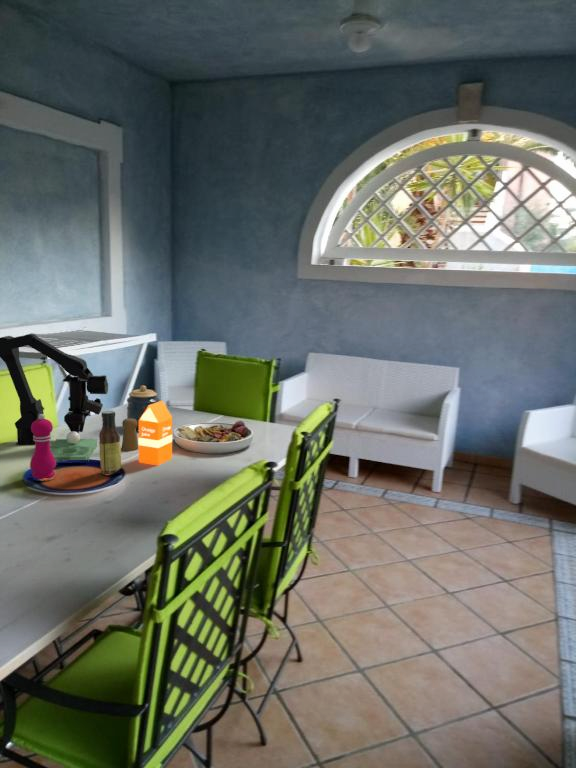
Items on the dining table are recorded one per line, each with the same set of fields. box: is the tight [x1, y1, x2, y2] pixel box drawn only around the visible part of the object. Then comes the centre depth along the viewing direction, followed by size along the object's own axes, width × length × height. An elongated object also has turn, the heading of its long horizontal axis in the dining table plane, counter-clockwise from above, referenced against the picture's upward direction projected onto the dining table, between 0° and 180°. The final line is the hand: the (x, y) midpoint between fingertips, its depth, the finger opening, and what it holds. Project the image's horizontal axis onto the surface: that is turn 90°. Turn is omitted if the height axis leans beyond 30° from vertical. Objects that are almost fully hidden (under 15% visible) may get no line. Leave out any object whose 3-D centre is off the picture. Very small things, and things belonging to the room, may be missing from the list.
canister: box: [126, 385, 160, 430], centre depth 234 cm, size 13×13×18 cm
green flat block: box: [50, 438, 98, 461], centre depth 196 cm, size 21×14×2 cm, turn 9°
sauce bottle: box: [98, 410, 122, 475], centre depth 178 cm, size 6×6×20 cm
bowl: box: [172, 420, 254, 455], centre depth 216 cm, size 30×30×8 cm
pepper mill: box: [29, 414, 57, 479], centre depth 171 cm, size 7×7×20 cm
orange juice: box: [138, 400, 173, 466], centre depth 193 cm, size 8×9×20 cm
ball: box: [65, 431, 81, 444], centre depth 200 cm, size 4×4×4 cm
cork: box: [120, 418, 139, 452], centre depth 206 cm, size 6×6×11 cm
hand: (78, 435), depth 210 cm, fingers open, 9 cm apart
